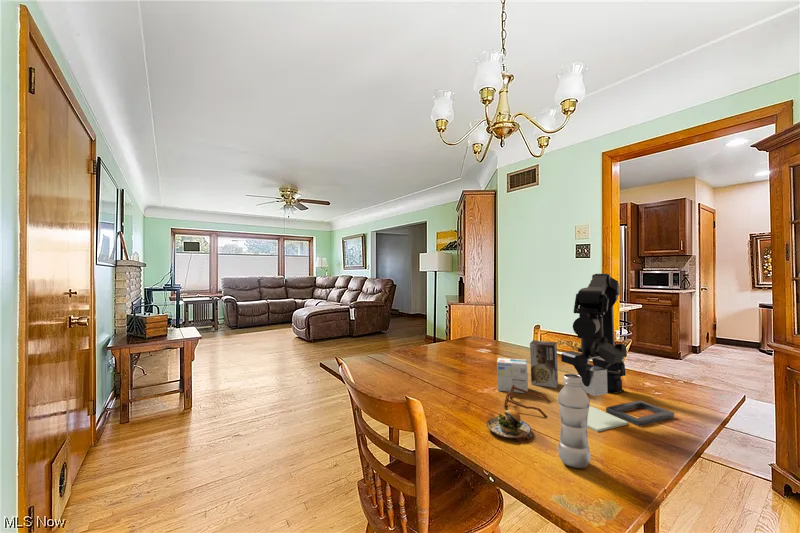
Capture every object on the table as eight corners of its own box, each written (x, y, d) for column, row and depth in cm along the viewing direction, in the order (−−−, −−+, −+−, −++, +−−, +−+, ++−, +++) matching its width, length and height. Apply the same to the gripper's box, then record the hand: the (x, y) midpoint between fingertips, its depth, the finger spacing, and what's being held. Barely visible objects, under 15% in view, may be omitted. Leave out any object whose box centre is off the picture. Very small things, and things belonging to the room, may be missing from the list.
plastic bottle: (552, 456, 78) (550, 372, 78) (579, 455, 79) (577, 371, 79) (568, 473, 72) (566, 381, 72) (598, 471, 72) (595, 380, 73)
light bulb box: (527, 387, 124) (526, 359, 124) (528, 394, 118) (527, 363, 118) (498, 384, 128) (497, 357, 128) (497, 391, 121) (496, 361, 121)
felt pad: (561, 414, 101) (561, 412, 101) (591, 408, 105) (591, 406, 105) (597, 431, 90) (597, 429, 90) (628, 424, 94) (628, 422, 94)
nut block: (580, 390, 99) (579, 366, 99) (592, 387, 101) (591, 364, 101) (594, 396, 94) (594, 371, 94) (607, 393, 96) (606, 369, 96)
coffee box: (558, 383, 128) (557, 341, 128) (556, 388, 123) (555, 345, 123) (533, 379, 133) (532, 339, 133) (530, 384, 128) (529, 342, 128)
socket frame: (606, 412, 102) (605, 407, 102) (639, 404, 107) (639, 400, 107) (639, 426, 93) (638, 421, 93) (674, 417, 98) (674, 412, 98)
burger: (482, 422, 97) (482, 397, 97) (522, 422, 97) (522, 396, 97) (492, 444, 85) (492, 414, 85) (539, 443, 85) (538, 414, 85)
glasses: (511, 396, 117) (511, 382, 117) (552, 403, 110) (551, 388, 110) (503, 410, 105) (503, 394, 105) (547, 419, 99) (547, 402, 99)
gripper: (592, 340, 87) (594, 399, 87) (641, 334, 93) (642, 389, 93) (559, 333, 98) (560, 385, 97) (605, 328, 104) (606, 377, 104)
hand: (593, 384), depth 98 cm, fingers closed on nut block, 5 cm apart
